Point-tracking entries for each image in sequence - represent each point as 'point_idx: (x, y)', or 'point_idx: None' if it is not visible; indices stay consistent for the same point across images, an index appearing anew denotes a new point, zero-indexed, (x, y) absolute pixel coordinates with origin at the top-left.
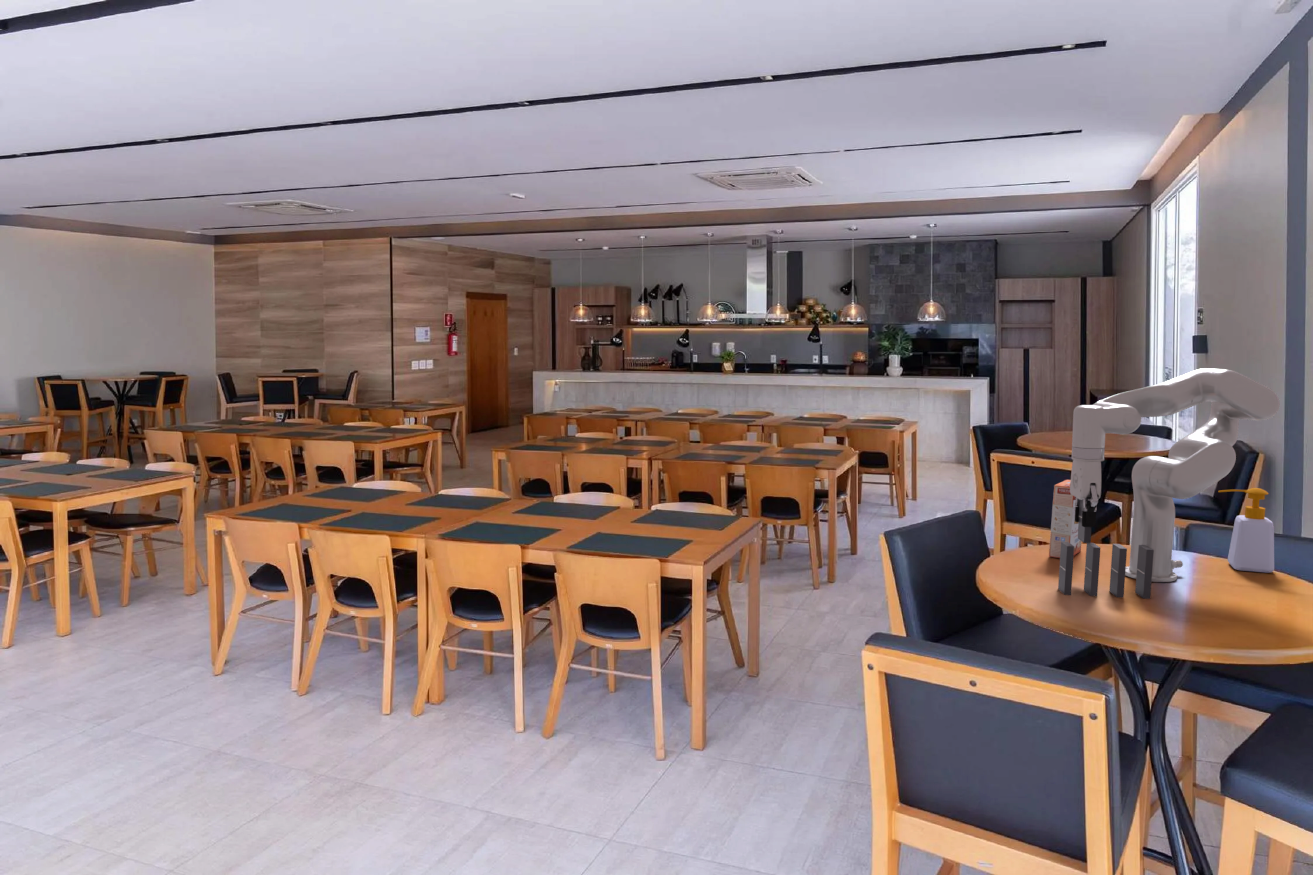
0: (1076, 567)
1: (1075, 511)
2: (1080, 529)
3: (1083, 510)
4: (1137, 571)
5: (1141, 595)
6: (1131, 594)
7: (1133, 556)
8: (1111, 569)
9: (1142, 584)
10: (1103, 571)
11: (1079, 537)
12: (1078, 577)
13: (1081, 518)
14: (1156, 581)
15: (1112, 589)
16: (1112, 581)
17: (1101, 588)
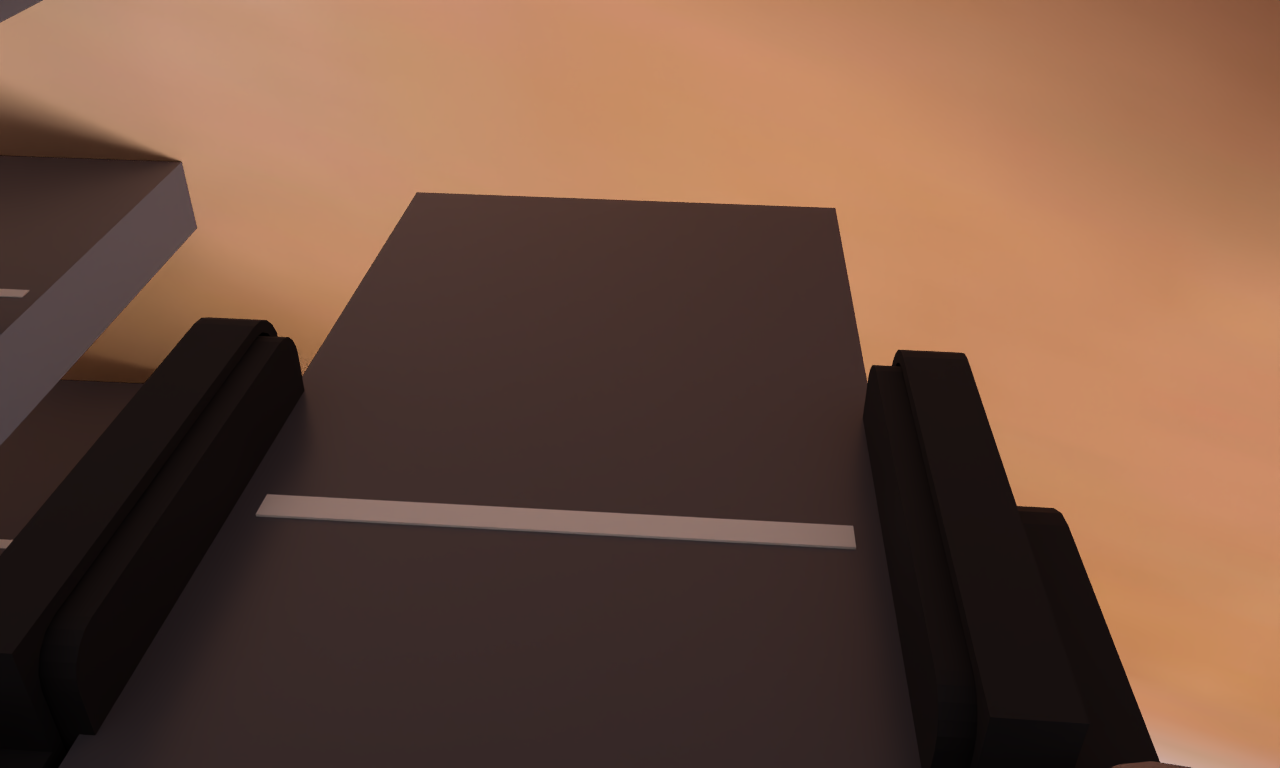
0: (1277, 161)
1: (967, 556)
2: (666, 314)
3: (329, 741)
4: None
5: (72, 389)
6: (148, 332)
7: None
8: (28, 283)
9: (9, 457)
10: (1058, 392)
11: (724, 222)
12: (759, 14)
13: (585, 500)
14: None
15: (70, 177)
16: (38, 216)
17: (283, 119)
